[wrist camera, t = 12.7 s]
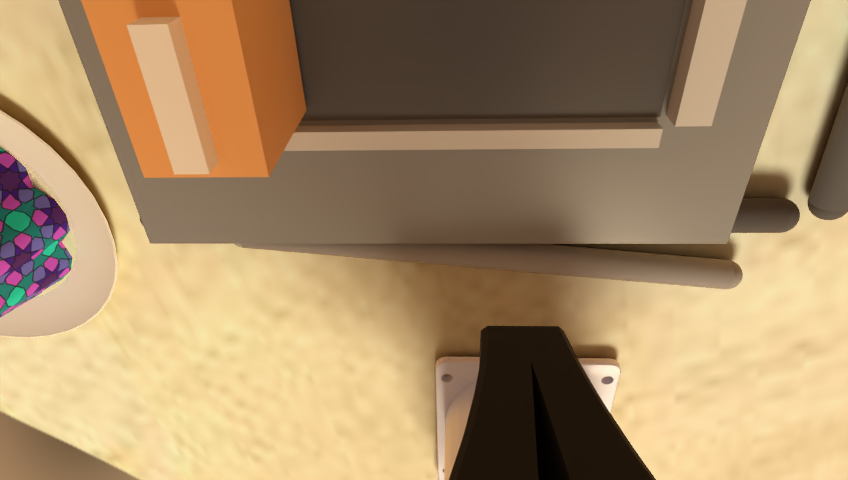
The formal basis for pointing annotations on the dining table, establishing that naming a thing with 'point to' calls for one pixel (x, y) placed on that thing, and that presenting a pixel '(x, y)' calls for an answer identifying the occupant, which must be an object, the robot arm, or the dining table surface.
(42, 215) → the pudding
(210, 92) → the lever
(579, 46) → the grey framed board
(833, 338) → the dining table surface
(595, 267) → the cord
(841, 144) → the cord
